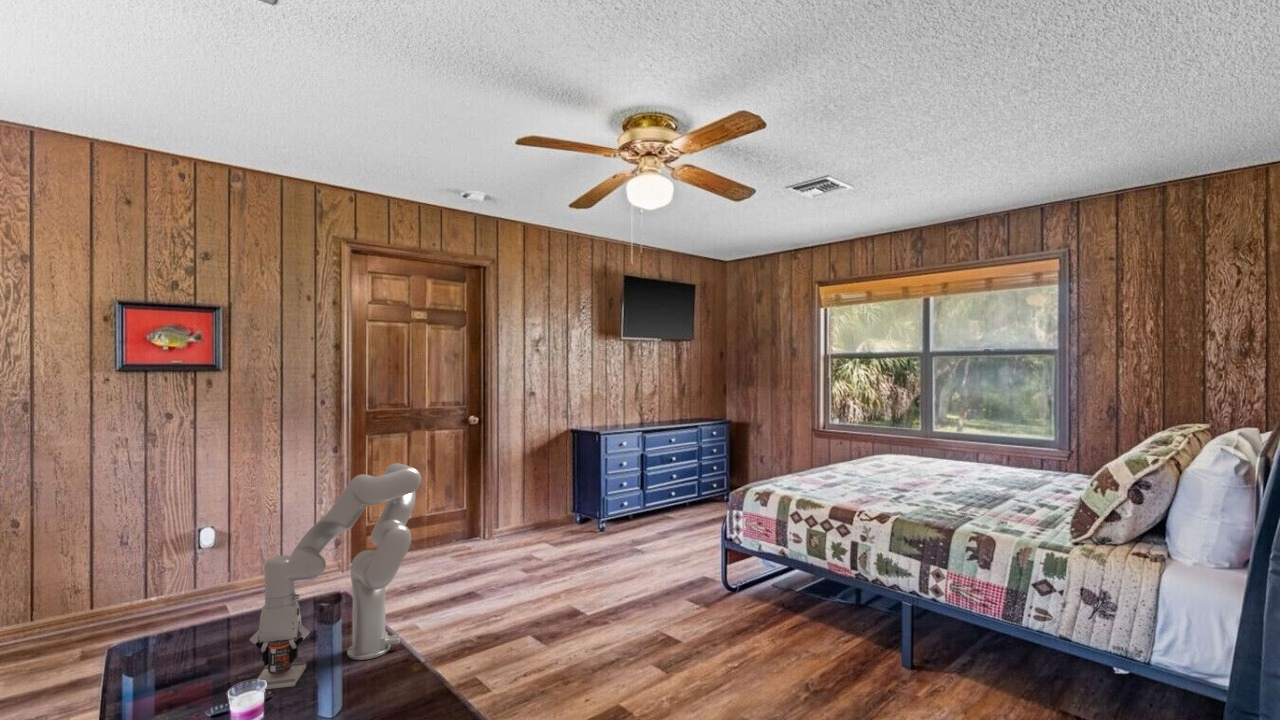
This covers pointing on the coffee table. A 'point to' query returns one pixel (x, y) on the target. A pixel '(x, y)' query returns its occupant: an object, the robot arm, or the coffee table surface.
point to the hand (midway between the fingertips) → (280, 661)
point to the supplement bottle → (279, 657)
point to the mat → (283, 676)
